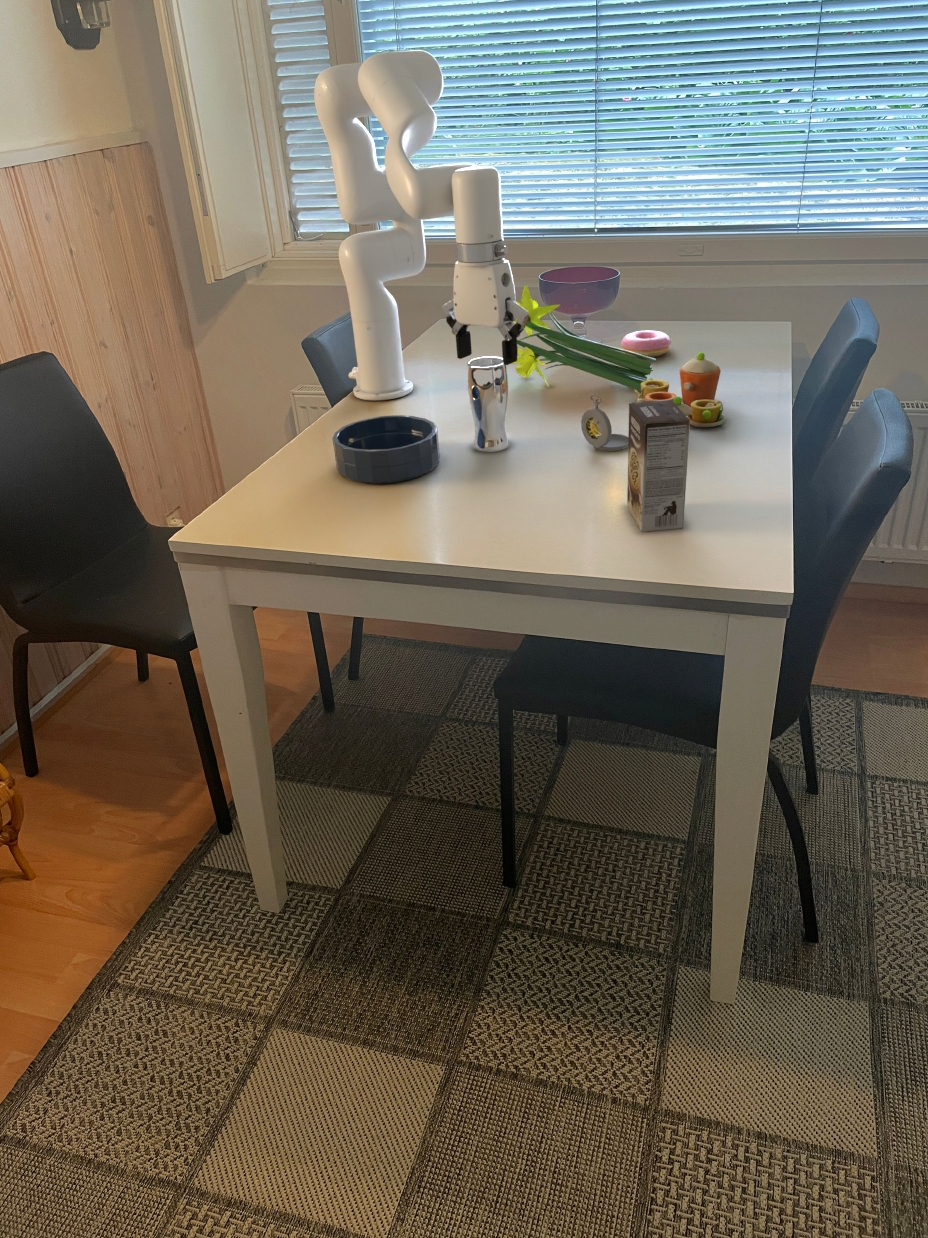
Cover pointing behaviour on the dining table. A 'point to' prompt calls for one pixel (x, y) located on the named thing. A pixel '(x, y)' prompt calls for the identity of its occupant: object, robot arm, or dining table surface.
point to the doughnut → (646, 343)
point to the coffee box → (657, 464)
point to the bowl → (386, 449)
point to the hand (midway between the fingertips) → (487, 359)
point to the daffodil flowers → (572, 358)
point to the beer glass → (488, 402)
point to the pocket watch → (601, 430)
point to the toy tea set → (691, 392)
